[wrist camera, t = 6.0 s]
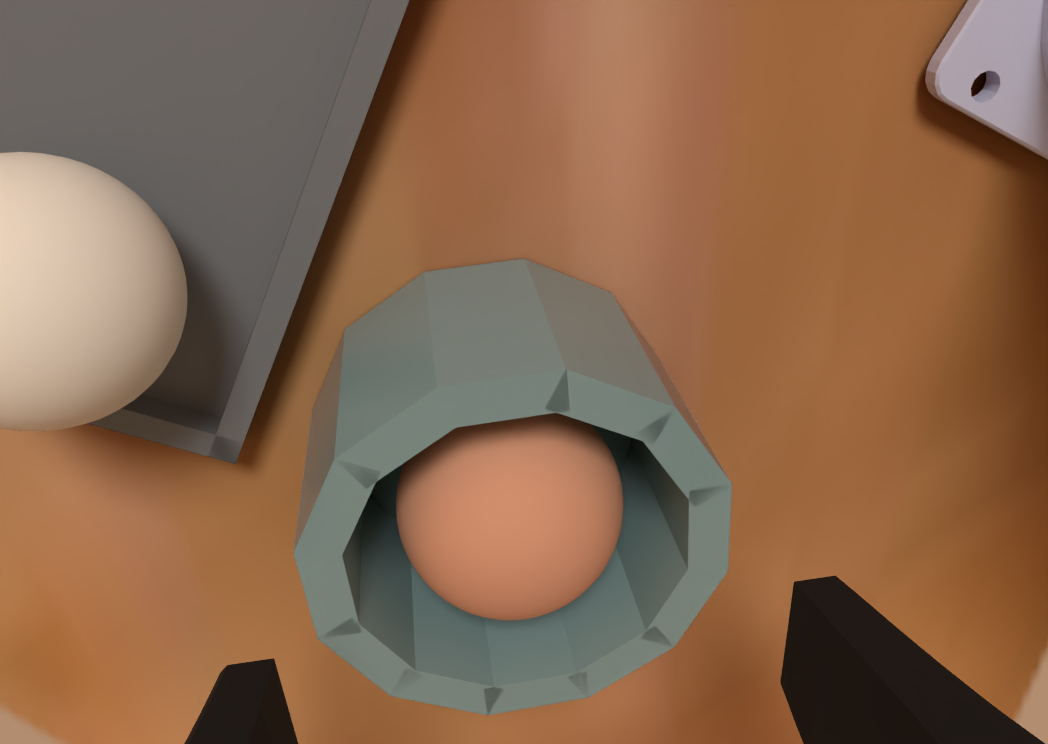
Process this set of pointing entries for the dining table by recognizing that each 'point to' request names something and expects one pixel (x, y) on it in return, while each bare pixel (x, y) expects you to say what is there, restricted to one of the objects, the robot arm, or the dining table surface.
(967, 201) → the dining table surface
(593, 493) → the ball terracotta
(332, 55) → the slate tray
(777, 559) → the dining table surface
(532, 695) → the teal tube
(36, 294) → the ball cream
